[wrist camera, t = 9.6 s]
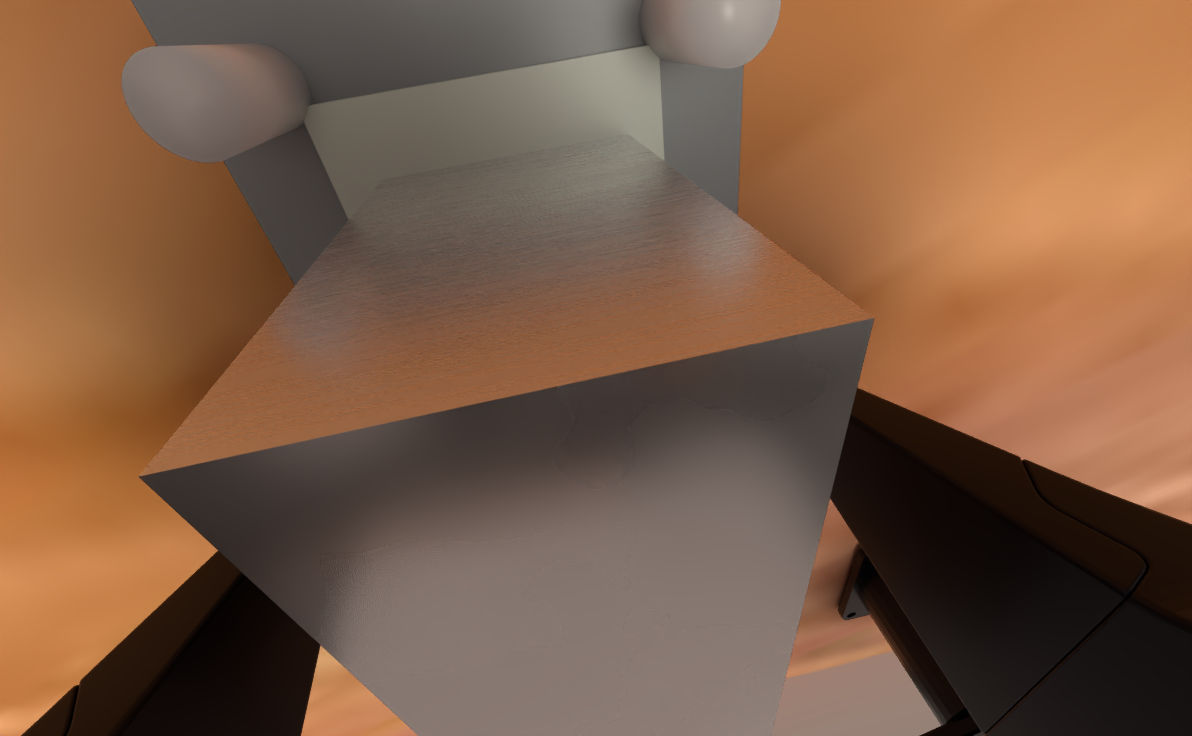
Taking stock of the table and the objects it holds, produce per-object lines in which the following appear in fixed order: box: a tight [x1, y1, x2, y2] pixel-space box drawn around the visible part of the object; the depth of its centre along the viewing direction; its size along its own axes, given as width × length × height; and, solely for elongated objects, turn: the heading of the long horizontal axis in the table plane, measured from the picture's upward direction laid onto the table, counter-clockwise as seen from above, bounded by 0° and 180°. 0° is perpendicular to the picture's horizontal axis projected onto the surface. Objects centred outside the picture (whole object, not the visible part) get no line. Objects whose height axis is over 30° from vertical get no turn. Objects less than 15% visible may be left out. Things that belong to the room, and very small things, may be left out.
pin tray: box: [122, 0, 781, 285], centre depth 11 cm, size 15×9×4 cm, turn 8°
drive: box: [139, 134, 874, 736], centre depth 8 cm, size 9×5×7 cm, turn 8°
